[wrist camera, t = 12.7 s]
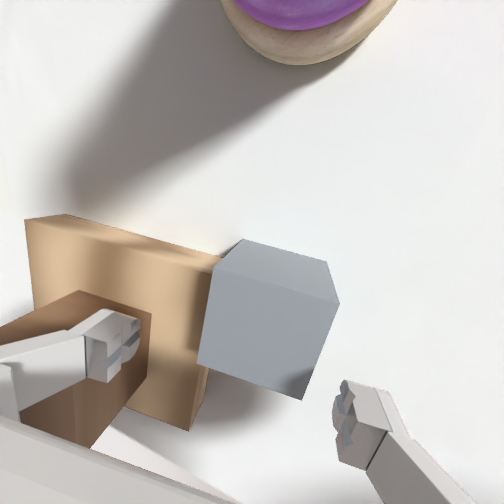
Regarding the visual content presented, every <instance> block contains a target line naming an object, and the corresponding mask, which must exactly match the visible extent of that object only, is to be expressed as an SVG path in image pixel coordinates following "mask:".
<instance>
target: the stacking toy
mask: <svg viewBox="0 0 504 504" xmlns="http://www.w3.org/2000/svg"><path fill="white" fill-rule="evenodd" d="M397 1H398V0H220V2H221V5H222V7H223V9H224V11H225V13H226V15H227V17H228V19H229V21H230V23H231V24H232V26H233V27H234V29H235V30H236V32H237V33H238V34H239V35H240V37H241V38H242V39H243V40H244V41H245V42H246V43H247V44H248V45H249V46H250V47H251V48H252V49H254V50H255V51H256V52H258V53H259V54H261V55H262V56H264V57H266V58H268V59H271V60H273V61H276V62H279V63H284V64H290V65H309V64H315V63H319V62H322V61H326V60H329V59H331V58H333V57H336V56H338V55H340V54H342V53H344V52H345V51H347V50H349V49H350V48H352V47H353V46H355V45H356V44H358V43H359V42H360V41H361V40H363V39H364V38H365V37H367V36H368V35H369V34H370V33H371V32H372V31H373V30H374V29H375V28H376V27H377V26H378V25H379V24H380V23H381V21H382V20H383V19H384V18H385V17H386V16H387V14H388V13H389V12H390V10H391V9H392V8H393V6H394V5H395V4H396V2H397Z"/></svg>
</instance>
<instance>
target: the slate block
mask: <svg viewBox="0 0 504 504" xmlns="http://www.w3.org/2000/svg"><path fill="white" fill-rule="evenodd" d="M339 304H340V303H339V300H338V297H337V294H336V290H335V287H334V284H333V281H332V278H331V274H330V271H329V268H328V265H327V262H326V261H322V260H319V259H315V258H311V257H308V256H304V255H300V254H297V253H293V252H289V251H286V250H282V249H278V248H275V247H271V246H267V245H264V244H260V243H256V242H252V241H249V240H245V239H243V240H241V241H240V242H239V243H238V244H237V245H236V246H235V247H234V248H233V249H232V250H231V251H230V252H229V253H228V254H227V255H226V256H225V257H224V258H223V259H222V260H221V261H219V262H218V263H217V264H216V265H215V266H214V268H213V274H212V279H211V285H210V291H209V296H208V302H207V307H206V313H205V319H204V324H203V330H202V335H201V341H200V347H199V352H198V358H197V364H199V365H202V366H205V367H208V368H211V369H214V370H216V371H219V372H222V373H225V374H228V375H231V376H233V377H236V378H239V379H242V380H245V381H248V382H250V383H253V384H256V385H259V386H262V387H265V388H267V389H270V390H273V391H276V392H279V393H282V394H284V395H287V396H290V397H293V398H296V399H299V400H302V398H303V396H304V393H305V391H306V388H307V386H308V383H309V381H310V378H311V376H312V373H313V370H314V368H315V365H316V363H317V360H318V358H319V355H320V353H321V350H322V348H323V345H324V343H325V340H326V337H327V335H328V332H329V330H330V327H331V325H332V322H333V320H334V317H335V315H336V312H337V310H338V307H339Z"/></svg>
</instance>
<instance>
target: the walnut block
mask: <svg viewBox="0 0 504 504" xmlns="http://www.w3.org/2000/svg"><path fill="white" fill-rule="evenodd" d="M101 309H109V310H113V311H115V312H120V313H123V314H126V315H129V316H132V317H135V318H138V319H139V320H140V321H141V328H140V329H139V330H138V331H137V332H138V334H139V336H140V343H139V346H138V349H137V351H136V352H135V354H134V356H133V357H132V358H131V359H130V360H129V361H127V362H124V363H122V364H121V370H120V371H119V372H118V373H117V374H116V375H115V376H114V377H113V378H112V379H111V380H110V381H109V382H108V383H105V382H101V381H98V380H95V379H91V378H88V377H86V378H85V379H83V380H81V381H79V382H77V383H75V384H73V385H71V386H69V387H67V388H65V389H63V390H61V391H59V392H57V393H55V394H53V395H51V396H49V397H47V398H45V399H43V400H41V401H39V402H37V403H35V404H33V405H31V406H29V407H27V408H25V409H23V410H21V411H19V415H20V421H21V423H22V424H25V425H28V426H30V427H33V428H36V429H38V430H41V431H44V432H46V433H49V434H52V435H54V436H57V437H60V438H62V439H65V440H68V441H70V442H73V443H76V444H78V445H81V446H84V447H86V448H89V449H90V448H91V446H92V445H93V444H94V443H95V441H96V440H97V439H98V437H99V436H100V435H101V434H102V433H103V431H104V430H105V429H106V428H107V426H108V425H109V424H110V423H111V421H112V420H113V419H114V418H115V416H116V415H117V414H118V413H119V411H120V410H121V409H122V408H123V406H124V405H125V404H126V403H127V401H128V400H129V399H130V398H131V396H132V395H133V394H134V393H135V391H136V390H137V389H138V388H139V386H140V385H141V384H142V383H143V381H144V380H145V379H146V378H147V367H148V355H149V342H150V330H151V317H152V313H149V312H146V311H143V310H139V309H136V308H133V307H130V306H127V305H124V304H121V303H118V302H115V301H112V300H109V299H106V298H103V297H100V296H97V295H93V294H90V293H87V292H84V291H81V290H77V291H75V292H73V293H71V294H68V295H66V296H64V297H62V298H60V299H58V300H56V301H54V302H52V303H50V304H48V305H46V306H43V307H41V308H39V309H37V310H35V311H33V312H31V313H29V314H27V315H25V316H23V317H20V318H18V319H16V320H14V321H12V322H10V323H8V324H6V325H4V326H2V327H0V346H1V345H5V344H9V343H13V342H17V341H21V340H25V339H29V338H33V337H37V336H41V335H45V334H49V333H53V332H57V331H61V330H66V331H68V330H70V329H71V328H73V327H75V326H76V325H78V324H79V323H81V322H82V321H84V320H86V319H87V318H89V317H90V316H92V315H93V314H95V313H96V312H98V311H100V310H101Z"/></svg>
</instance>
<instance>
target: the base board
mask: <svg viewBox="0 0 504 504" xmlns="http://www.w3.org/2000/svg"><path fill="white" fill-rule="evenodd" d="M24 222H25V231H26V240H27V249H28V257H29V266H30V275H31V284H32V293H33V301H34V310H37V309H39V308H41V307H43V306H46V305H48V304H50V303H52V302H54V301H56V300H58V299H60V298H62V297H64V296H66V295H68V294H71V293H73V292H75V291H77V290H81V291H84V292H87V293H90V294H93V295H97V296H100V297H103V298H106V299H109V300H112V301H115V302H118V303H121V304H124V305H127V306H130V307H133V308H136V309H139V310H143V311H146V312H149V313H152V317H151V330H150V342H149V355H148V367H147V378H146V379H145V380H144V381H143V383H142V384H141V385H140V386H139V388H138V389H137V390H136V391H135V393H134V394H133V395H132V396H131V398H130V399H129V400H128V401H127V403H126V404H125V405H124V406H125V407H127V408H130V409H132V410H135V411H137V412H140V413H143V414H145V415H148V416H150V417H153V418H155V419H158V420H160V421H163V422H166V423H168V424H171V425H173V426H176V427H178V428H181V429H183V430H186V431H189V430H190V428H191V425H192V423H193V421H194V419H195V417H196V415H197V412H198V410H199V408H200V406H201V404H202V401H203V399H204V394H205V388H206V383H207V378H208V373H209V368H208V367H205V366H202V365H199V364H197V358H198V352H199V347H200V341H201V335H202V330H203V324H204V319H205V313H206V307H207V302H208V296H209V291H210V285H211V279H212V274H213V268H214V266H215V265H216V264H217V263H218V262H219V261H221V260H222V259H223V258H221V257H217V256H214V255H210V254H206V253H203V252H199V251H196V250H192V249H188V248H185V247H181V246H178V245H174V244H171V243H167V242H163V241H160V240H156V239H153V238H149V237H145V236H142V235H138V234H135V233H131V232H128V231H124V230H120V229H117V228H113V227H110V226H106V225H102V224H99V223H95V222H92V221H88V220H85V219H81V218H77V217H74V216H70V215H67V214H62V215H55V216H47V217H40V218H32V219H25V220H24Z"/></svg>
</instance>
